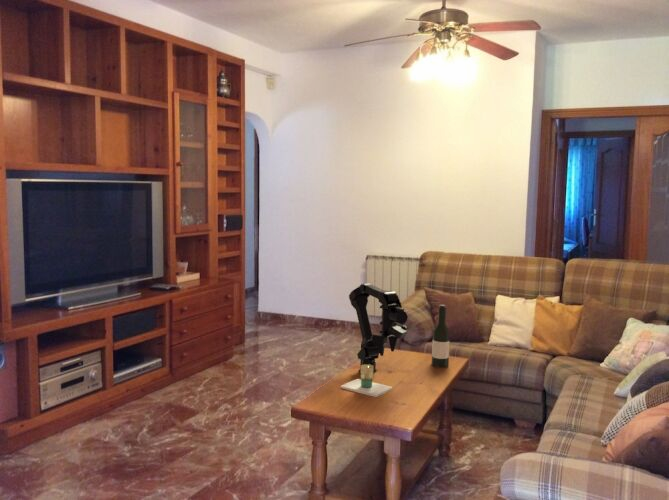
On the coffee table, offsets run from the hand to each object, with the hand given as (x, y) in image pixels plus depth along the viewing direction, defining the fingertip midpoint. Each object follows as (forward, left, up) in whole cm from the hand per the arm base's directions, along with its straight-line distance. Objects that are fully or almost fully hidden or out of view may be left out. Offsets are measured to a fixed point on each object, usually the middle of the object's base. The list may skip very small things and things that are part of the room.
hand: (387, 353), depth 277 cm
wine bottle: (+8, +38, -13) cm, 41 cm away
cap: (-1, -15, -8) cm, 17 cm away
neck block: (-1, -15, -12) cm, 20 cm away
